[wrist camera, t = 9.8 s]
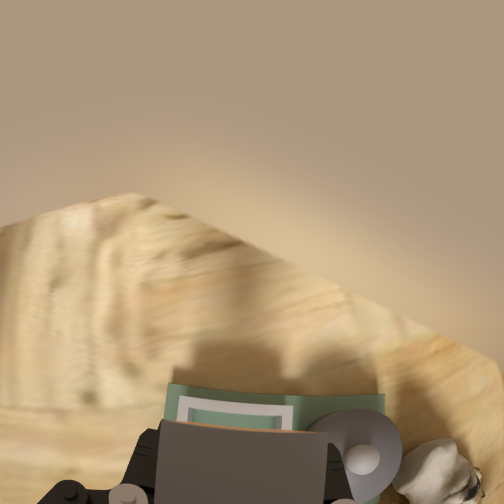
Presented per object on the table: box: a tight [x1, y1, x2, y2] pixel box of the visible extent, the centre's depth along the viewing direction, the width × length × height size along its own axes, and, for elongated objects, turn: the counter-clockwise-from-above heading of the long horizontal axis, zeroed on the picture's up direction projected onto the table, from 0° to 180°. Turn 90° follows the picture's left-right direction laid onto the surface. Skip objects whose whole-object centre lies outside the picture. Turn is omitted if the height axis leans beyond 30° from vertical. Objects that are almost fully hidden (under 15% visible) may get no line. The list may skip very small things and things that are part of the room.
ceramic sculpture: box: [392, 437, 485, 504], centre depth 17 cm, size 11×9×15 cm
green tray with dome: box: [164, 383, 403, 504], centre depth 20 cm, size 20×12×7 cm, turn 85°
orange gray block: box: [154, 420, 328, 504], centre depth 10 cm, size 5×5×8 cm
